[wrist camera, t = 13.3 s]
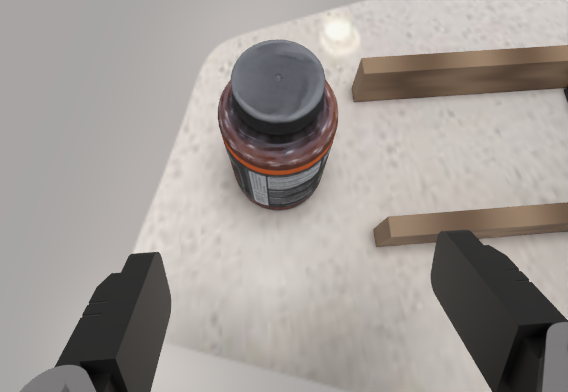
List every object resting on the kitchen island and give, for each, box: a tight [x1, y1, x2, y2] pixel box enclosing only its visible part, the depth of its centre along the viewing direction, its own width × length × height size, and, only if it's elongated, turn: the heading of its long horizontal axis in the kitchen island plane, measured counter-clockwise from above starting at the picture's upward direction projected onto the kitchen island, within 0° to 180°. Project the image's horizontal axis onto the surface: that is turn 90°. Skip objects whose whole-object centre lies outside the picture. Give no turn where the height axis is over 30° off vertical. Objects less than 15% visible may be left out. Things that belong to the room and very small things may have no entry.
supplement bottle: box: [218, 40, 338, 209], centre depth 21 cm, size 6×6×11 cm
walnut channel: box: [352, 45, 568, 247], centre depth 26 cm, size 22×12×4 cm, turn 95°
